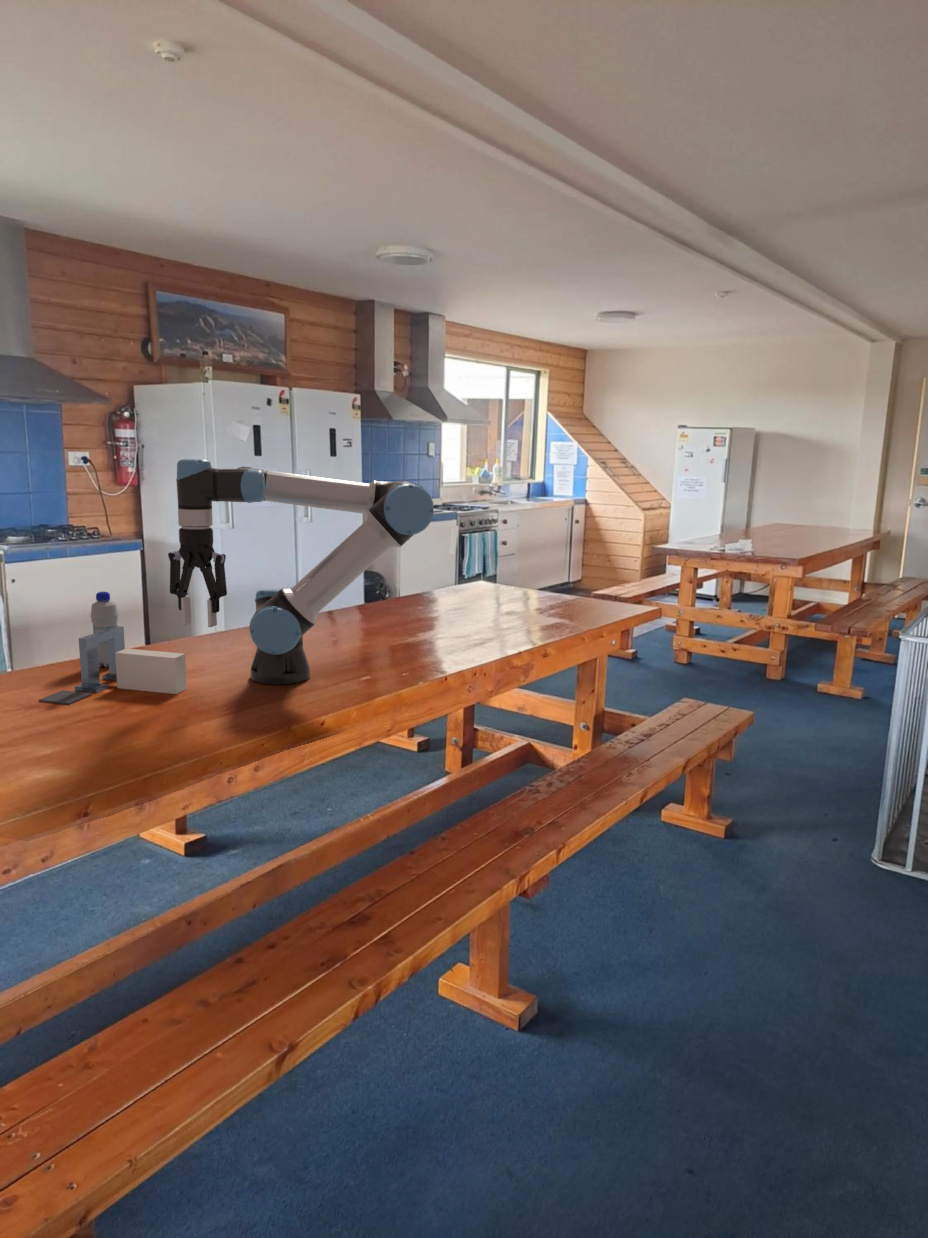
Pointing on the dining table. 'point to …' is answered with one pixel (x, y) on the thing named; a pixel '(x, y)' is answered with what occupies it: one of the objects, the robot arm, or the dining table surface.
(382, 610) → the dining table surface
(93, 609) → the bottle
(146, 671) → the white block
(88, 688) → the blue-grey arch stand
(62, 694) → the mat
